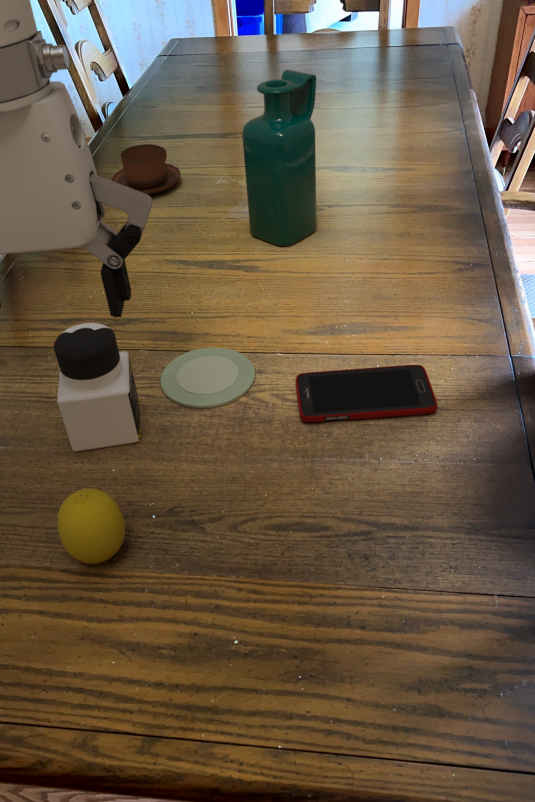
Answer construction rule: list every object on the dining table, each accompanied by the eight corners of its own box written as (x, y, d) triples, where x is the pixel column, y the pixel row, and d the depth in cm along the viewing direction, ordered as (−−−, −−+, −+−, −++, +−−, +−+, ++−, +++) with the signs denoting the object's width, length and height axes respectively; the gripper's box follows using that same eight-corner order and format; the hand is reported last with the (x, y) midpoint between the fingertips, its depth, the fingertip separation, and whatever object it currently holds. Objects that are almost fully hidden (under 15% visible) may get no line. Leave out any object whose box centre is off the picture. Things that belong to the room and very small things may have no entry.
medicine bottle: (141, 443, 75) (119, 350, 68) (72, 453, 75) (43, 361, 67) (139, 400, 81) (119, 310, 73) (75, 410, 80) (48, 320, 72)
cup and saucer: (127, 172, 132) (121, 138, 128) (189, 173, 130) (185, 139, 126) (103, 199, 123) (95, 164, 119) (169, 202, 121) (164, 166, 117)
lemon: (88, 526, 67) (67, 466, 62) (142, 538, 65) (125, 477, 60) (58, 574, 63) (34, 514, 58) (115, 587, 61) (95, 526, 56)
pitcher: (285, 250, 106) (278, 95, 91) (244, 234, 110) (231, 84, 96) (327, 225, 111) (326, 75, 97) (286, 211, 115) (280, 66, 101)
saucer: (151, 407, 80) (150, 403, 79) (171, 349, 88) (170, 345, 88) (249, 409, 78) (248, 406, 78) (260, 350, 87) (259, 347, 86)
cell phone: (438, 414, 76) (439, 407, 75) (300, 424, 76) (300, 417, 75) (423, 370, 82) (423, 363, 81) (294, 379, 82) (294, 373, 81)
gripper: (132, 45, 46) (172, 278, 57) (-135, 67, 46) (-44, 296, 57) (118, 79, 40) (166, 331, 51) (-187, 104, 40) (-75, 350, 51)
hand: (55, 312), depth 54 cm, fingers open, 9 cm apart
